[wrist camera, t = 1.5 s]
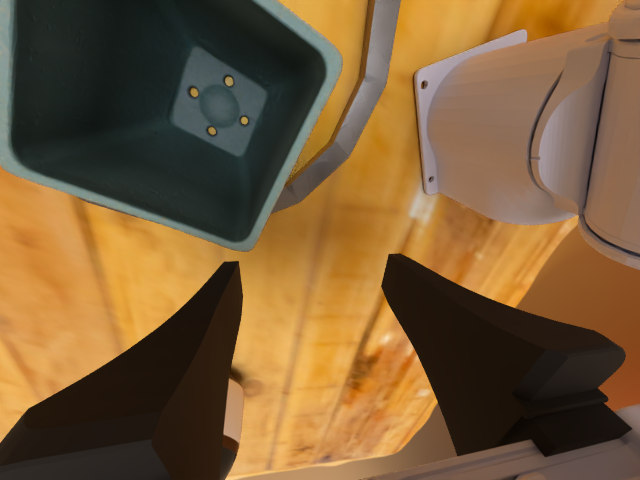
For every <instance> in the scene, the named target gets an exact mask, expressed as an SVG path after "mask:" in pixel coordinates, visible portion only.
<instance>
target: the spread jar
mask: <svg viewBox="0 0 640 480" xmlns="http://www.w3.org/2000/svg"><path fill="white" fill-rule="evenodd" d="M243 409H244V392H243V388H242V386H241V384H240V383H239V382H238V380H237V379H236V378H235V377H234V376H232V375H231V374H230V376H229V385H228V394H227V403H226V413H225V423H224V433H223V445H222V456H221V468H220V480H225V479H226V477H227V475H228V473H229V472H230V470H231V468H232V466H233V463H234V461H235V459H236V456H237V452H238V449H239V444H240V438H241V430H242V420H243Z"/></svg>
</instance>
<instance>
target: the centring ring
mask: <svg viewBox="0 0 640 480" xmlns="http://www.w3.org/2000/svg"><path fill="white" fill-rule="evenodd" d="M400 1H401V0H369V3H368V11H367V19H366V27H365V35H364V43H363V51H362V59H361V67H360V76H359V80H358V82H357V84H356V86H355V88H354V90H353V93H352V95H351V97H350V99H349V101H348V103H347V105H346V108H345V110H344V112H343V114H342V116H341V118H340V120H339V123H338V125H337V127H336V129H335V131H334V133H333V135H332V138H331V140H330V142H329V143H328V144H327V145H325V146H324V147H323V148H322V149H321V150H320V151H319V152H318V153H317V154H316V155H315V156H314V157H313V158H312V159H311V160H310V161H309V162H308V163H307V164H306V165H305V166H304V167H303V168H302V169H301V170H299V171H298V172H297V173H296V174H295V175H294V176H293V177H292V178H291V179H290V180H289V181H288V182H286V183H285V185H284V188H283V190H282V192H281V194H280V196H279V197H278V200H277V201H276V204H275V206H274V208H273V210H272V212H271V214H272V213H274V212H277V211H279V210H282V209H284V208H287V207H290V206H292V205H295V204H297V203H299V202H301V201H302V200H303V199H304V198H305V197H306V196H307V195H308V194H310V193H311V192H312V191H313V190H314V189H315V188H316V187H317V186H318V185H319V184H320V183H321V182H323V181H324V180H325V179H326V178H327V177H328V176H329V175H330V174H331V173H332V172H333V171H334V170H336V169H337V168H338V167H339V166H340V165H341V164H342V163H343V162H344V161H345V160H346V159H348V158H349V157H348V156H350V154H351V152H352V150H353V148H354V146H355V145H356V143H357V141H358V139H359V137H360V135H361V133H362V131H363V129H364V127H365V125H366V123H367V121H368V119H369V117H370V115H371V113H372V111H373V109H374V107H375V105H376V104H377V102H378V100H379V98H380V96H381V94H382V92H383V90H384V88H385V86H386V85H385V84H386V83H387V77H388V71H389V66H390V60H391V54H392V48H393V42H394V36H395V30H396V25H397V19H398V13H399V7H400ZM79 198H80V197H79ZM80 199H82V200H83V201H86V202H88V203H91V204H95V205H98V206H101V207H105V208H108V209H111V210H115V211H118V212H122V213H125V214H128V213H126V212H123V211H120V210H117V209H113V208H110V207H107V206H105V205H101V204H99V203H96V202H92V201H89V200H86V199H83V198H80ZM128 215H131V214H128ZM132 216H135V215H132ZM135 217H137V216H135ZM138 218H140V217H138ZM142 219H143V218H142ZM145 220H146V219H145ZM148 221H149V220H148ZM152 222H153V221H152ZM155 223H156V222H155ZM158 224H159V223H158Z"/></svg>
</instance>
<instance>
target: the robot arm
mask: <svg viewBox="0 0 640 480" xmlns="http://www.w3.org/2000/svg"><path fill="white" fill-rule="evenodd" d="M422 81H424V83H425V86H424V88H423V89H422V88H421V83H422ZM414 84H415V95H416V105H417V116H418V127H419V138H420V148H421V159H422V170H423V181H424V191H425V193H426V194H428V195H433V194H436V193H441V194H443V195H445V196H447V197H449V198H451V199H453V200H454V201H456V202H458V203H460V204H462V205H464V206H466V207H468V208H470V209H472V210H474V211H476V212H478V213H480V214H482V215H483V216H485V217H488V218H490V219H493V220H496V221H500V222H505V223H511V224H518V225H540V224H549V223H554V222H559V221H563V220H566V219H570V218H572V217H574V216H576V215H579V219H578V228H579V231H580V233H581V235H582V237H583V238H584V240H585V241H586V242H587V243H588V244H589V245H590V246H591V247H593V248H594V249H595V250H597V251H598V252H600V253H602V254H603V255H605V256H607V257H609V258H610V259H613V260H615V261H618V262H620V263H622V264H624V265H627V266H630V267H633V268H636V269H639V270H640V0H625V1H623V2H622V3H621V4H620V5H619V6H618V7H617V8H616V9H615V10H614V11H613V12H612V14H611V16H610V19H609V22H605V23H601V24H597V25H593V26H589V27H585V28H581V29H577V30H573V31H569V32H565V33H561V34H557V35H553V36H549V37H545V38H541V39H537V40H533V41H529V42H527V32H526V30H524V29H521V30H518V31H515V32H513V33H510V34H507V35H505V36H502V37H500V38H497V39H495V40H492V41H490V42H487V43H484V44H482V45H479V46H477V47H474V48H472V49H469V50H467V51H464V52H461V53H459V54H456V55H454V56H451V57H449V58H446V59H443V60H441V61H438V62H436V63H433V64H431V65H428V66H426V67H423V68H420V69H419V70H417V72H416V73H415V76H414ZM429 177H431V180H429V181H428V179H429ZM381 287H382V289H383V292H384V295H385V297H386V299H387V302H388V304H389V306H390V307H391V309H392V311H393V313H394V314H395V316H396V318H397V320H398V321H399V323H400V325H401V326H402V328H403V330H404V331H405V333H406V335H407V336H408V338H409V340H410V341H411V343H412V345H413V347H414V349H415V351H416V353H417V355H418V357H419V359H420V361H421V364H422V366H423V368H424V370H425V372H426V375H427V377H428V379H429V382H430V384H431V386H432V389H433V391H434V393H435V396H436V399H437V401H438V404H439V406H440V409H441V411H442V414H443V416H444V419H445V422H446V425H447V427H448V430H449V433H450V436H451V439H452V442H453V444H454V447H455V450H456V453H457V456H458V457H454V458H450V459H445V460H441V461H437V462H433V463H428V464H424V465H420V466H416V467H411V468H407V469H403V470H398V471H395V472H390V473H386V474H382V475H377V476H373V477H369V478H364V479H361V480H640V404H637V405H633V406H628V407H624V408H621V409H619V410H617V411H615V412H613V411H612V410H611V409H610V408H609V407H608V406H606V405H605V404H604V402H607V401H608V397H607V396H606V395H604V393H602V392H601V391H600V390H599V389H598V387H599V386H600V385H601V384H602V383H604V382H605V381H606V380H607V379H608V378H609V377H610V376H611V375H612V374H613V373H614V372H616V370H617V369H618V368H619V367H620V366H621V365H622V364H623V362H624V360H625V357H626V355H625V351H624V350H623V348H621V347H620V346H618V345H617V344H615V343H614V342H612V341H611V340H609V339H608V338H606V337H605V336H603V335H602V334H600V333H598V332H596V331H594V330H590V329H586V328H582V327H578V326H574V325H570V324H566V323H561V322H558V321H554V320H550V319H547V318H544V317H541V316H537V315H534V314H530V313H528V312H525V311H522V310H519V309H516V308H513V307H510V306H507V305H505V304H502V303H499V302H496V301H494V300H491V299H489V298H486V297H484V296H482V295H480V294H477V293H475V292H473V291H470V290H468V289H466V288H464V287H462V286H460V285H458V284H456V283H454V282H452V281H450V280H448V279H446V278H444V277H443V276H441V275H439V274H437V273H435V272H433V271H432V270H430V269H428V268H426V267H425V266H423V265H421V264H419V263H418V262H416V261H414V260H412V259H410V258H408V257H406V256H404V255H402V254H389V256H388V260H387V264H386V268H385V273H384V277H383V281H382V285H381ZM242 303H243V293H242V284H241V276H240V268H239V261H232V262H224V263H223V264H222V265H221V266H220V267H219V268H218V269H217V270H216V272H215V273H214V274H213V275H212V276H211V278H210V279H209V280H208V281H207V282H206V283H205V284H204V285H203V286H202V287H201V289H200V290H199V291H198V292H197V293H196V294H195V295H194V296H193V297H192V298H191V299H190V300H189V301H188V302H187V303H186V304H185V305H184V306H183V307H182V308H181V309H180V310H178V311H177V312H176V313H175V314H174V315H173V316H172V317H171V318H169V319H168V320H167V321H166V322H164V323H163V324H162V325H161V326H160V327H158V328H157V329H156V330H154V331H153V332H152V333H150V334H149V335H148V336H146V337H145V338H143V339H142V340H141V341H139V342H138V343H137V344H135V345H134V346H132V347H131V348H130V349H128V350H127V351H125V352H124V353H122V354H121V355H119V356H118V357H116V358H115V359H113V360H111V361H110V362H108V363H107V364H105V365H104V366H102V367H100V368H99V369H97V370H96V371H94V372H92V373H91V374H89V375H87V376H86V377H84V378H82V379H81V380H79V381H77V382H75V383H74V384H72V385H70V386H68V387H66V388H65V389H63V390H61V391H59V392H58V393H56V394H54V395H52V396H51V397H49V398H47V399H45V400H43V401H42V402H40V403H38V404H36V405H34V406H32V407H31V408H29V409H28V410H27V411H26V412H25V413H24V414H23V416H22V417H21V418H20V419H19V420H18V422H17V423H16V424H15V425H14V427H13V428H12V429H11V430H10V432H9V433H8V434H7V435H6V437H5V438H4V439H3V440H2V442H1V443H0V480H220V468H221V456H222V445H223V433H224V423H225V413H226V403H227V394H228V385H229V376H230V370H231V364H232V359H233V354H234V350H235V345H236V340H237V335H238V331H239V326H240V321H241V315H242Z"/></svg>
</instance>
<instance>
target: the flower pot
mask: <svg viewBox="0 0 640 480" xmlns="http://www.w3.org/2000/svg"><path fill="white" fill-rule="evenodd" d="M342 65H343V60H342V56H341V54H340V52H339V51H338V49H337V48H336V47H335V45H333V44H332V43H331V42H330V41H329V40H328V39H327V38H325V37H324V36H323V35H322V34H321V33H319V32H318V31H316V30H315V29H314V28H312V27H311V26H310V25H309V24H307V23H306V22H305V21H303V20H302V19H301V18H300V17H298V16H297V15H295V14H294V13H293V12H292V11H291V10H290V9H288V8H287V7H285V6H284V5H283V4H281V3H280V2H279V1H277V0H0V165H1V167H2V168H3V169H4V170H6V171H7V172H9V173H11V174H13V175H15V176H17V177H20V178H23V179H26V180H29V181H31V182H34V183H37V184H40V185H43V186H46V187H50V188H53V189H56V190H59V191H62V192H65V193H67V194H70V195H74V196H76V197H80V198H83V199H86V200H89V201H92V202H96V203H99V204H101V205H105V206H107V207H110V208H113V209H117V210H120V211H123V212H126V213H128V214H131V215H135V216H137V217H140V218H143V219H146V220H149V221H153V222H156V223H159V224H162V225H164V226H167V227H171V228H173V229H176V230H179V231H182V232H184V233H187V234H190V235H193V236H195V237H199V238H202V239H205V240H207V241H210V242H213V243H216V244H218V245H220V246H223V247H226V248H229V249H231V250H236V251H243V252H248V251H250V250H252V249H253V248H254V246H255V244H256V243H257V241H258V239H259V237H260V235H261V232H262V230H263V229H264V226H265V224H266V222H267V220H268V218H269V216H270V214H271V212H272V210H273V208H274V206H275V204H276V201H277V200H278V197H279V196H280V194H281V192H282V190H283V188H284V185H285V183H286V181H287V179H288V177H289V175H290V173H291V172H292V169H293V167H294V165H295V164H296V162H297V159H298V157H299V155H300V153H301V151H302V149H303V147H304V145H305V143H306V141H307V140H308V137H309V136H310V134H311V132H312V130H313V128H314V126H315V124H316V122H317V120H318V118H319V116H320V114H321V112H322V110H323V108H324V106H325V104H326V103H327V100H328V98H329V96H330V94H331V93H332V91H333V89H334V87H335V85H336V83H337V81H338V78H339V76H340V74H341V71H342ZM226 76H230V77H232V79H233V82H234V83H233V85H232V86H227V85H226V84H225V77H226ZM191 87H194V88H196V89H197V90H198V96H197V97H193V96H191V95H190V93H189V90H190V88H191ZM242 116H245V117H247V118H248V123H247V124H246V125H244V124H242V123H241V121H240V119H241V117H242ZM209 127H214V128H215V130H216V134H215V135H211V134H209V132H208V128H209Z"/></svg>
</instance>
